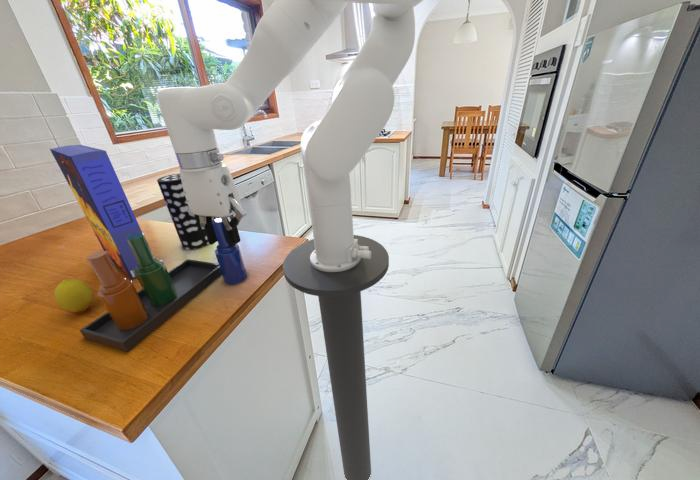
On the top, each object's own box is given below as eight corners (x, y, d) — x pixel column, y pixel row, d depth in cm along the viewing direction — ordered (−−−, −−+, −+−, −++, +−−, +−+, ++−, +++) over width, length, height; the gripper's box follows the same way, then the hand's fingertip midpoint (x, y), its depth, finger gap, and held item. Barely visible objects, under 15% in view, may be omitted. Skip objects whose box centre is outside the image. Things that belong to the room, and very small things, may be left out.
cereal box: (106, 254, 84) (49, 148, 70) (129, 246, 88) (80, 143, 74) (132, 279, 71) (69, 155, 57) (158, 268, 75) (105, 149, 61)
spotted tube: (175, 248, 84) (149, 181, 75) (196, 235, 91) (174, 172, 82) (199, 250, 82) (174, 182, 73) (218, 237, 89) (198, 173, 80)
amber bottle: (154, 314, 58) (122, 248, 51) (130, 333, 53) (91, 264, 46) (136, 309, 59) (102, 245, 52) (110, 327, 55) (70, 260, 48)
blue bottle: (251, 273, 70) (236, 216, 63) (238, 286, 66) (219, 226, 59) (234, 270, 71) (217, 214, 64) (219, 283, 67) (199, 224, 60)
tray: (225, 272, 71) (222, 264, 70) (128, 352, 50) (122, 342, 49) (190, 266, 75) (187, 259, 74) (85, 339, 54) (79, 330, 53)
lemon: (92, 299, 65) (74, 269, 61) (105, 306, 62) (87, 275, 58) (62, 315, 60) (40, 284, 57) (74, 323, 58) (53, 291, 54)
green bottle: (182, 292, 63) (157, 231, 56) (162, 308, 59) (132, 244, 52) (164, 289, 65) (137, 229, 58) (144, 303, 61) (112, 241, 54)
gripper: (248, 155, 56) (267, 238, 65) (181, 155, 61) (207, 232, 70) (222, 165, 50) (246, 255, 58) (150, 163, 55) (182, 247, 64)
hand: (225, 242), depth 64 cm, fingers open, 4 cm apart
